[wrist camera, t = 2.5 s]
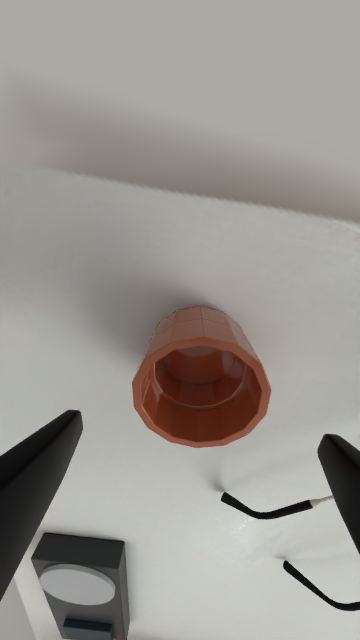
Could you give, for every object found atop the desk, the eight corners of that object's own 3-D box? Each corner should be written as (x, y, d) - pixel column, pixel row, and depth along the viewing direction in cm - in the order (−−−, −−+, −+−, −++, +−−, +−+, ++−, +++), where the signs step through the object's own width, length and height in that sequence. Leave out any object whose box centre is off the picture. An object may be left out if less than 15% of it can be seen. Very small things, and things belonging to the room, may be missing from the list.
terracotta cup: (137, 365, 14) (113, 419, 10) (176, 286, 12) (168, 311, 8) (214, 400, 15) (222, 463, 10) (264, 330, 12) (301, 376, 8)
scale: (43, 532, 22) (25, 567, 20) (124, 541, 22) (116, 578, 20) (70, 614, 30) (59, 646, 28) (129, 621, 30) (124, 654, 28)
